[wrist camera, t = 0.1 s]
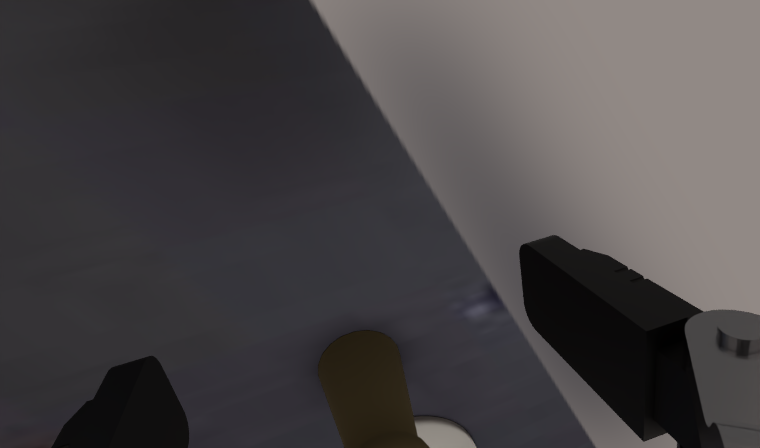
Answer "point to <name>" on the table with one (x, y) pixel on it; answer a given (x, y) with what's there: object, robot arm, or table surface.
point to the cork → (368, 392)
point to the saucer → (442, 433)
